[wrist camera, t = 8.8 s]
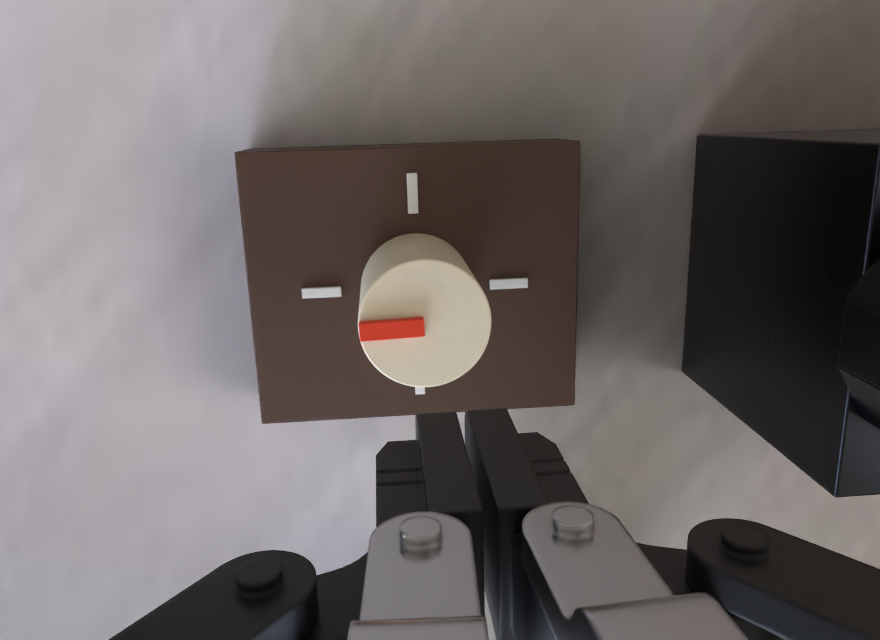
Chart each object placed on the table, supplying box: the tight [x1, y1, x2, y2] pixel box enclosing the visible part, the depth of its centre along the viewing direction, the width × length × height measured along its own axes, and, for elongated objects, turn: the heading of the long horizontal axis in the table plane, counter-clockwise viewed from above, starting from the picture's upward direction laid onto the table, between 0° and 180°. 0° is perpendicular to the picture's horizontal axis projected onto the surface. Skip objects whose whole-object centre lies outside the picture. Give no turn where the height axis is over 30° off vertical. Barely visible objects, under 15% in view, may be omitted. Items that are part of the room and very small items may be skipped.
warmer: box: [235, 139, 580, 424], centre depth 28 cm, size 10×12×3 cm
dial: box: [358, 233, 491, 387], centre depth 24 cm, size 4×4×5 cm
